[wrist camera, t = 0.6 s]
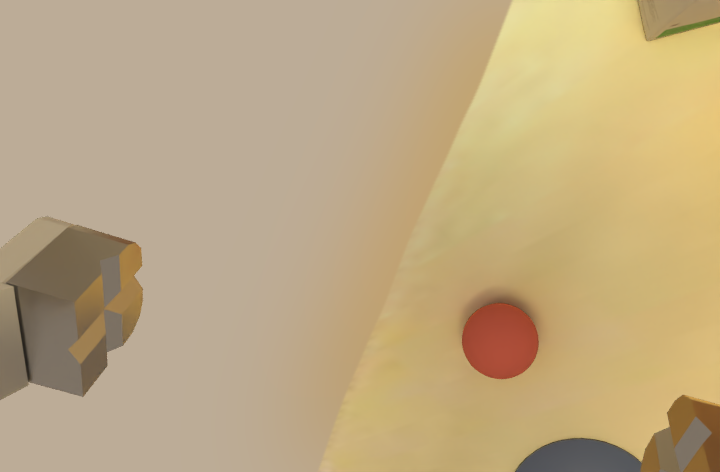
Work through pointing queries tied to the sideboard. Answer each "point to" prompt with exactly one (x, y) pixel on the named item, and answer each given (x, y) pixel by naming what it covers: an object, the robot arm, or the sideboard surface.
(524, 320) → the ball
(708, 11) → the skincare box
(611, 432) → the sideboard surface
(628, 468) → the dark gray round plate
